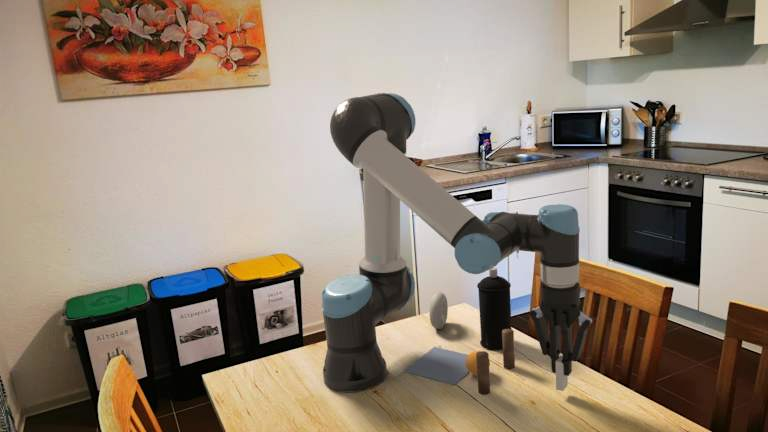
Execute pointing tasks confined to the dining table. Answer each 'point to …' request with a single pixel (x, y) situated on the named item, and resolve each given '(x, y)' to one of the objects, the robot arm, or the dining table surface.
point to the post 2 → (508, 348)
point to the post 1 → (483, 372)
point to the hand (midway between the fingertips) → (561, 387)
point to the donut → (438, 310)
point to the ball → (472, 362)
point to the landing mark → (440, 366)
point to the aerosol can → (494, 309)
